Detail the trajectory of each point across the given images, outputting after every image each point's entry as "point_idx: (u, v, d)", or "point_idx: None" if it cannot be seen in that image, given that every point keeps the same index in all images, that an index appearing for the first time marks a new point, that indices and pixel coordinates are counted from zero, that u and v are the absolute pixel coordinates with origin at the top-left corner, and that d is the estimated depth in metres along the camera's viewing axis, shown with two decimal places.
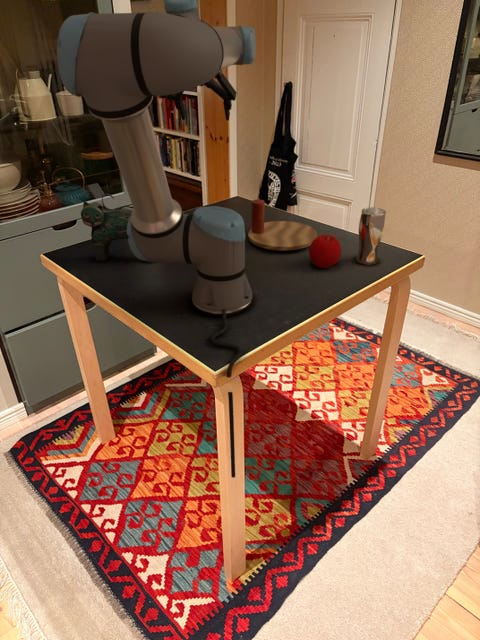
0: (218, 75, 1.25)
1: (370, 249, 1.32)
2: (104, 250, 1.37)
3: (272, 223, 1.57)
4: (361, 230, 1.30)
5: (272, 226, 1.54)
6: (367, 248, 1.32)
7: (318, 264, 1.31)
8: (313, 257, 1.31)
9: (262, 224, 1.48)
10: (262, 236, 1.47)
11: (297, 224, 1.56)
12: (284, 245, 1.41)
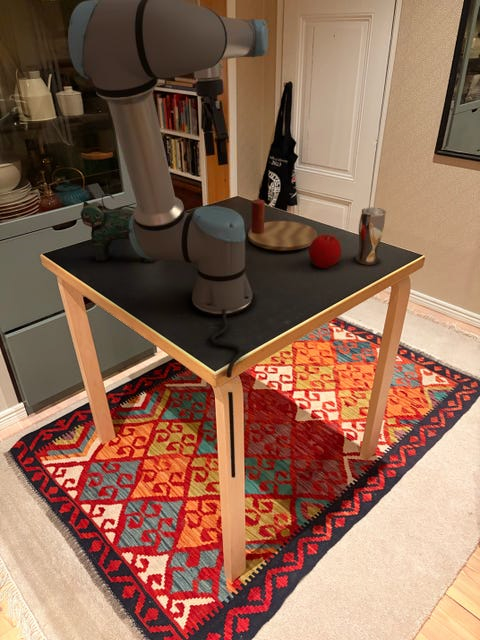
0: (212, 105, 1.23)
1: (370, 249, 1.32)
2: (104, 250, 1.37)
3: (272, 223, 1.57)
4: (361, 230, 1.30)
5: (272, 226, 1.54)
6: (367, 248, 1.32)
7: (318, 264, 1.31)
8: (313, 257, 1.31)
9: (262, 224, 1.48)
10: (262, 236, 1.47)
11: (297, 224, 1.56)
12: (284, 245, 1.41)
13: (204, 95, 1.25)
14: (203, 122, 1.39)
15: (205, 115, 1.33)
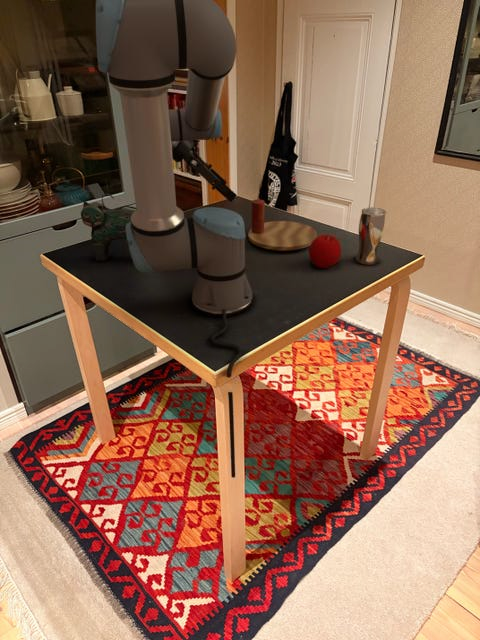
0: (190, 165, 1.28)
1: (370, 249, 1.32)
2: (104, 250, 1.37)
3: (272, 223, 1.57)
4: (361, 230, 1.30)
5: (272, 226, 1.54)
6: (367, 248, 1.32)
7: (318, 264, 1.31)
8: (313, 257, 1.31)
9: (262, 224, 1.48)
10: (262, 236, 1.47)
11: (297, 224, 1.56)
12: (284, 245, 1.41)
13: (180, 160, 1.31)
14: None
15: None
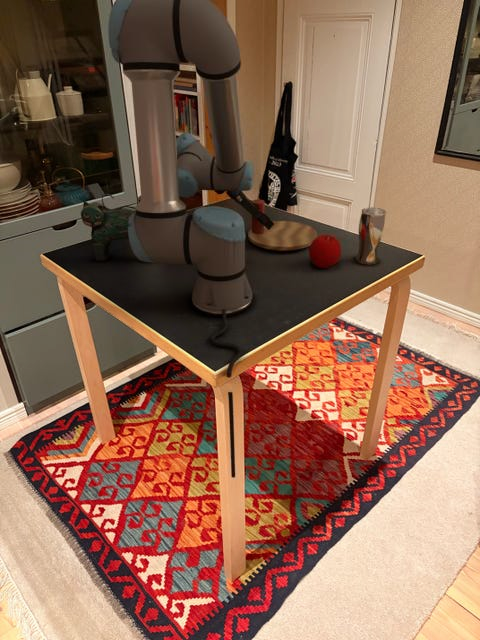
0: (236, 201, 1.37)
1: (370, 249, 1.32)
2: (104, 250, 1.37)
3: None
4: (361, 230, 1.30)
5: (272, 226, 1.54)
6: (367, 248, 1.32)
7: (318, 264, 1.31)
8: (313, 257, 1.31)
9: (262, 224, 1.48)
10: (262, 236, 1.47)
11: (297, 224, 1.56)
12: (284, 245, 1.41)
13: (222, 192, 1.38)
14: None
15: None
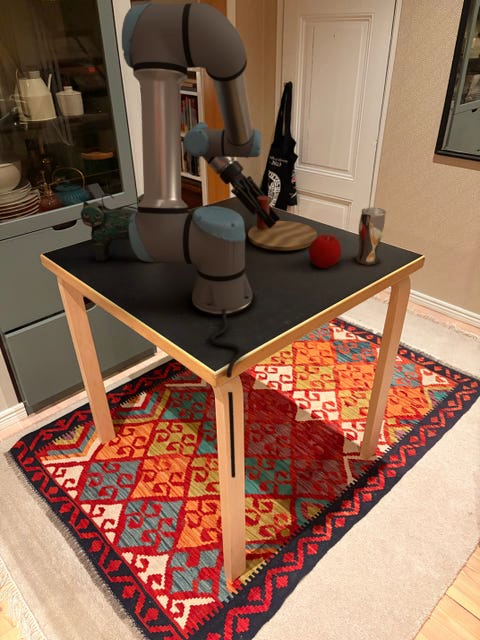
0: None
1: (370, 249, 1.32)
2: (104, 250, 1.37)
3: (286, 223, 1.57)
4: (361, 230, 1.30)
5: (282, 225, 1.55)
6: (367, 248, 1.32)
7: (318, 264, 1.31)
8: (313, 257, 1.31)
9: None
10: (260, 232, 1.50)
11: (307, 228, 1.52)
12: (268, 243, 1.42)
13: (226, 183, 1.48)
14: None
15: None
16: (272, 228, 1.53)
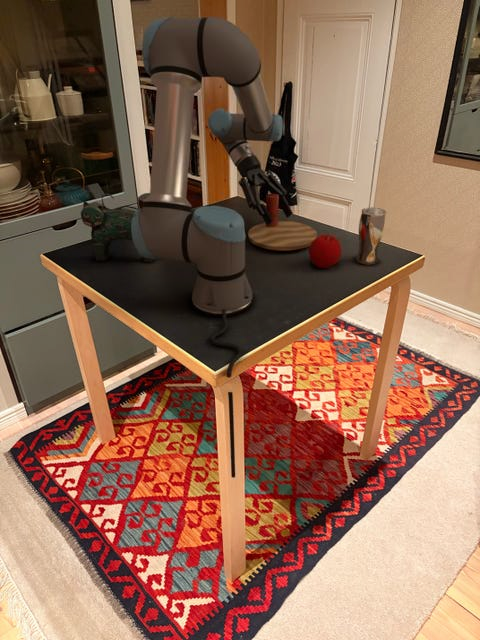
0: None
1: (370, 249, 1.32)
2: (104, 250, 1.37)
3: (298, 225, 1.55)
4: (361, 230, 1.30)
5: (291, 226, 1.54)
6: (367, 248, 1.32)
7: (318, 264, 1.31)
8: (313, 257, 1.31)
9: None
10: (263, 228, 1.53)
11: (311, 233, 1.49)
12: (256, 239, 1.45)
13: None
14: None
15: (263, 186, 1.55)
16: (279, 227, 1.54)
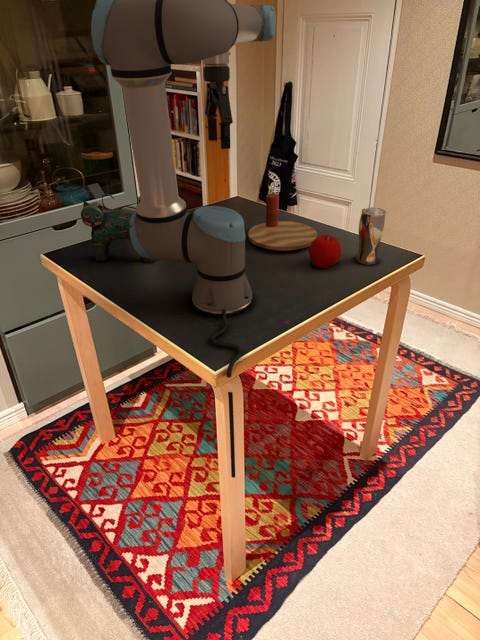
0: (219, 89, 1.29)
1: (370, 249, 1.32)
2: (104, 250, 1.37)
3: (298, 225, 1.55)
4: (361, 230, 1.30)
5: (291, 226, 1.54)
6: (367, 248, 1.32)
7: (318, 264, 1.31)
8: (313, 257, 1.31)
9: (271, 218, 1.52)
10: (263, 228, 1.53)
11: (311, 233, 1.49)
12: (256, 239, 1.45)
13: (211, 80, 1.30)
14: (207, 108, 1.44)
15: (210, 100, 1.38)
16: (279, 227, 1.54)
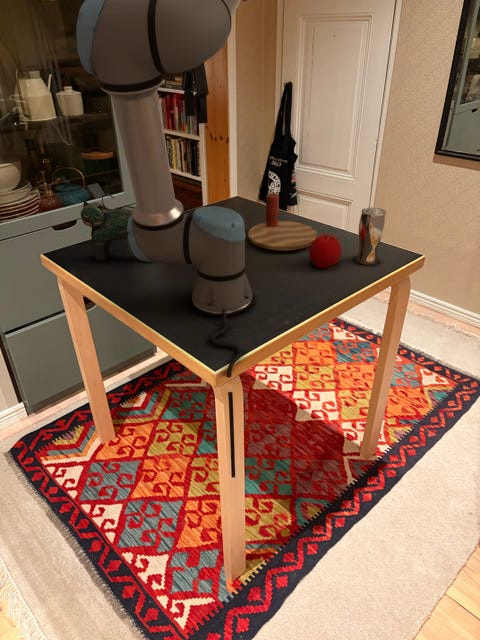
0: None
1: (370, 249, 1.32)
2: (104, 250, 1.37)
3: (298, 225, 1.55)
4: (361, 230, 1.30)
5: (291, 226, 1.54)
6: (367, 248, 1.32)
7: (318, 264, 1.31)
8: (313, 257, 1.31)
9: (271, 218, 1.52)
10: (263, 228, 1.53)
11: (311, 233, 1.49)
12: (256, 239, 1.45)
13: None
14: (184, 80, 1.33)
15: (186, 71, 1.27)
16: (279, 227, 1.54)
